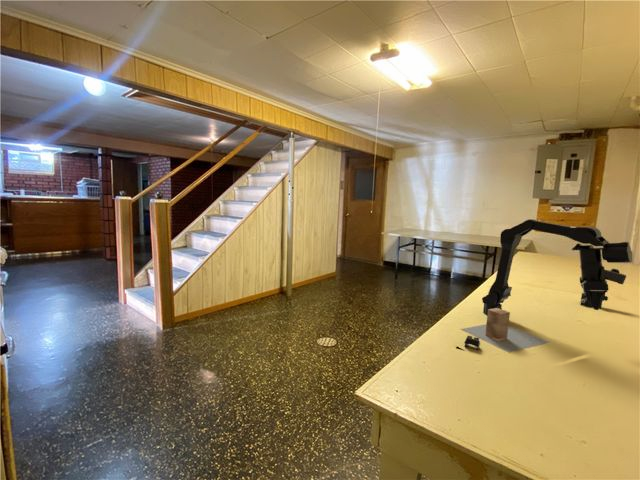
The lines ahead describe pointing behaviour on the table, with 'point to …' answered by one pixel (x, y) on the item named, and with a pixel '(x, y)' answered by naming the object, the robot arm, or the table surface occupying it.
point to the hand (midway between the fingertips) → (594, 307)
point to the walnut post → (497, 324)
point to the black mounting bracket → (471, 342)
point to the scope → (586, 301)
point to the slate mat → (514, 338)
